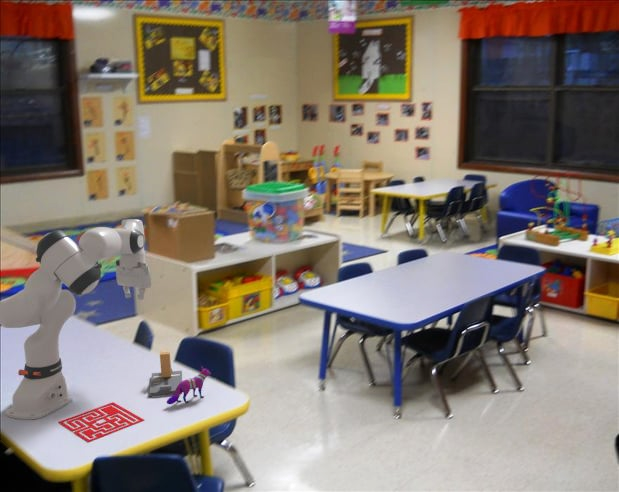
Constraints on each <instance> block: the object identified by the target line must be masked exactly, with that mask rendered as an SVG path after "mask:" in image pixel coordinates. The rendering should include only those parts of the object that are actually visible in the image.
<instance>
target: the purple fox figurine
mask: <svg viewBox="0 0 619 492" xmlns="http://www.w3.org/2000/svg"><path fill="white" fill-rule="evenodd" d="M200 367H201V368H200V369H201V371H200V372H199V373H198V374H197V375H196V376H194V377H192V378H187V379H184V380H182V382H180V383H179V385H178V386H177V388H176V390H175V392H174V394H173V395H171V396H170V397H169V398H168V399H167V400H166V404H167V405H173V404H175V403H176V402H177V403H181V402H182V400H179V398H180V396H181V395H182V394H183V396H182V398H183V400H184V401H183V402H184V403H186V404H188V403H190V401H188V400H187V399H186V397H187V395H188V394H189V392H190V390H192V393H193V394H192V395H193V397H194V398H196V397H198V395H199V397H200V398H201V399H203V398H205V396H204V395H202V389H203V386H204V382H205V380H206V379H207V378H208V376H211V374H212V372H210V371H209V370H208V368H204V367H203V365H201V366H200ZM196 389H197V390H198V393H199V394H198V395H197V394H195V393H196ZM181 393H182V394H181Z"/></svg>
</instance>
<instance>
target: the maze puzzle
mask: <svg viewBox="0 0 619 492" xmlns="http://www.w3.org/2000/svg"><path fill="white" fill-rule="evenodd" d="M102 411H103V412H102ZM126 413H127V414H126ZM98 414H99V415H98ZM108 417H109V418H110V419H109V418H108ZM84 418H85V419H84ZM126 418H127V419H126ZM100 420H105V421H103V422H99V421H100ZM80 421H81V422H80ZM116 422H117V423H116ZM141 422H145V419H144V418H142V417H140V416H139V415H137V414H135V413H133V412H132V411H130V410H128V409H127V408H125V407H122V406H121V405H119V404H117V403H116V402H113V401H112V402H110V403H107V404H104V405H100V406H98V407H95V408H92V409H90V410H87V411H85V412H81V413H79V414H77V415H74V416H73V415H72V416H71V417H67V418H64V419H62V420H60V421H58V424H60V425H61V426H63V427H64V428H66V429H68V430H69V431H70V432H73V433H74V434H75V435H76V436H78V437H79V438H80V439H82V440H83V441H85V442H86V443H91V442H93V441H96V440H99V439H101V438H103V437H106V436H109V435H110V434H111V435H112V434H113V433H116V432H119V431H121V430H124V429H126V428H129V427H132V426H133V425H137V424H140V423H141ZM66 423H67V424H66ZM75 423H76V424H75ZM126 423H127V424H126ZM94 424H95V425H96V426H95V425H94ZM113 426H114V427H113ZM72 427H73V428H72ZM104 428H105V429H104ZM102 432H103V433H102ZM81 433H82V434H81ZM84 435H85V436H84ZM93 435H94V436H95V437H94V436H93ZM86 436H87V437H86Z"/></svg>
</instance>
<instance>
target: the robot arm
mask: <svg viewBox="0 0 619 492" xmlns="http://www.w3.org/2000/svg"><path fill="white" fill-rule="evenodd" d="M143 224H144V223H143V221H142V220H140V219H138V218H125V219H122V221H121V225H120V228H119V227H117V228H111V227H105V226H97V227H92V228H90V229H88V230H86V231H85V232H84V233H83V234H82V235H81V236H80V237H79V239H78V244H77V243H76V242H75V241H74V240H73V239H72V238H71V237H70V235H69V234H67V233H66V232H65V231H63V230H62V229H56V230H52V231H51V232H48V233H46V234H44V236H43V237H41V238H40V241H38V243H37V245H36V246H37V247H36V252H35V253H36V256H37V257H35V262H36V263H39V265H40V266H39V268H38V269H37V270H34V272H32V273H31V274H30V276H29V277H28V279H27V280H26V282H25V285H24V288H23V289H21V290H20V291H18V292H17V293H15V294H13V295H11V296H8V297H6V298H4V299H1V300H0V325H1V327H2V328H5V329H22V328H27V327H32V326H38V328H37V329H36V331H35V332H33V333H32V334H30V335H28V337H27V338H26V339H25V341H24V344H23V349H24V357H25V359H24V360H25V364H24V367H23V369H21V368H20V369H18V371H17V374H18V376H23V379H21V381H20V382H19V385H18V387H17V388H16V390H15V392H14V393H13V395H12V405H11V406H10V407H9V408H8V409H7V410H6V411H5V415H6V416H7V417H10V418H13V419H18V420H36V419H42V418H43V417H45V416H47V415H49V414H50V413H53V412H54V411H56V410H59V409H60V408H62V407H64V406H65V405H67V404H69V403H71V402H72V397H71V396H70V394H69V390H68V387H67V386H68V385H67V381H66V379H65V378H66V377H65V376H64V374H63V372H62V369H63V362H62V359H61V357H60V349H59V348H60V344H59V341H60V334H61V331H62V329H63V327H64V325H65V323H66V322H67V321H68V320H69V318H71V317H72V316H73V315H74V313H75V311H76V307H77V300H76V298H75V296H74V295H76V296H83V295H85V294H88V293H89V292H92V291H94V289H95V288H96V287H97V286H98V285H99V283H100V281H101V277H102V271H101V270H102V268H103V265H102V263H99V262H102V261H109V260H111V259H113V258H116V256H120V258H118V259H116V260H115V262H114V265H115V267H116V268H115V277H116V282H117V285H118V286H122V287H123V289H122V290H123V292H124V297H125V298H127V299H129V298H132V293H131V291H130V289H131V288H138V294H137V300H139V301H143V300H145V293H146V289H150V288H151V287H152V276H151V275H152V274H151V270H150V268H149V266H148V264H147V263H146V253H145V251H146V250H145V243H146V241H145V240H146V239H145V238H146V237H145V229H144V225H143ZM62 283H63V284H64V285H65V286H66V287H67V288H68V289H62V287H63V284H62Z"/></svg>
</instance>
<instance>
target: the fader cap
mask: <svg viewBox="0 0 619 492" xmlns="http://www.w3.org/2000/svg"><path fill="white" fill-rule="evenodd" d="M171 360H172V359H171V350H169V349H167V350H162V351H161V350H160V351H159V362H160V363H159V365H160V373H161V376H162V378H164V377H171V368H172V363H171V362H172V361H171Z"/></svg>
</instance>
